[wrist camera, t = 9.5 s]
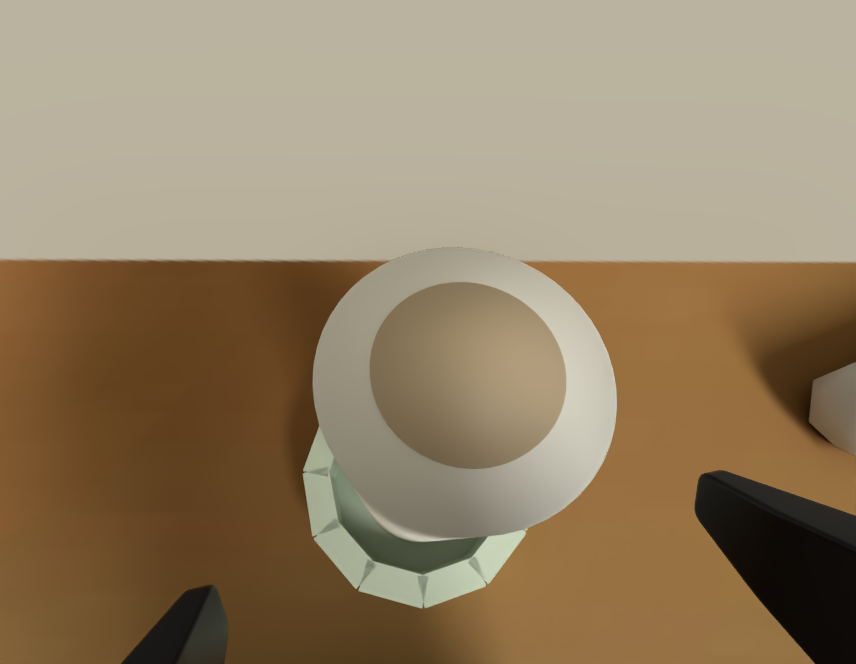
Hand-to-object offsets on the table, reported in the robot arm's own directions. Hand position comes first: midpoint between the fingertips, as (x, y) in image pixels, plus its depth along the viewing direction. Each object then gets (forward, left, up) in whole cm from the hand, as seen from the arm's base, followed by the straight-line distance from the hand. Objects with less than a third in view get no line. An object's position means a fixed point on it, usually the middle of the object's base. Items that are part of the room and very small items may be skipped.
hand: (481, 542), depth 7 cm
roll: (+2, +1, -11) cm, 11 cm away
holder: (+2, +1, -11) cm, 12 cm away
